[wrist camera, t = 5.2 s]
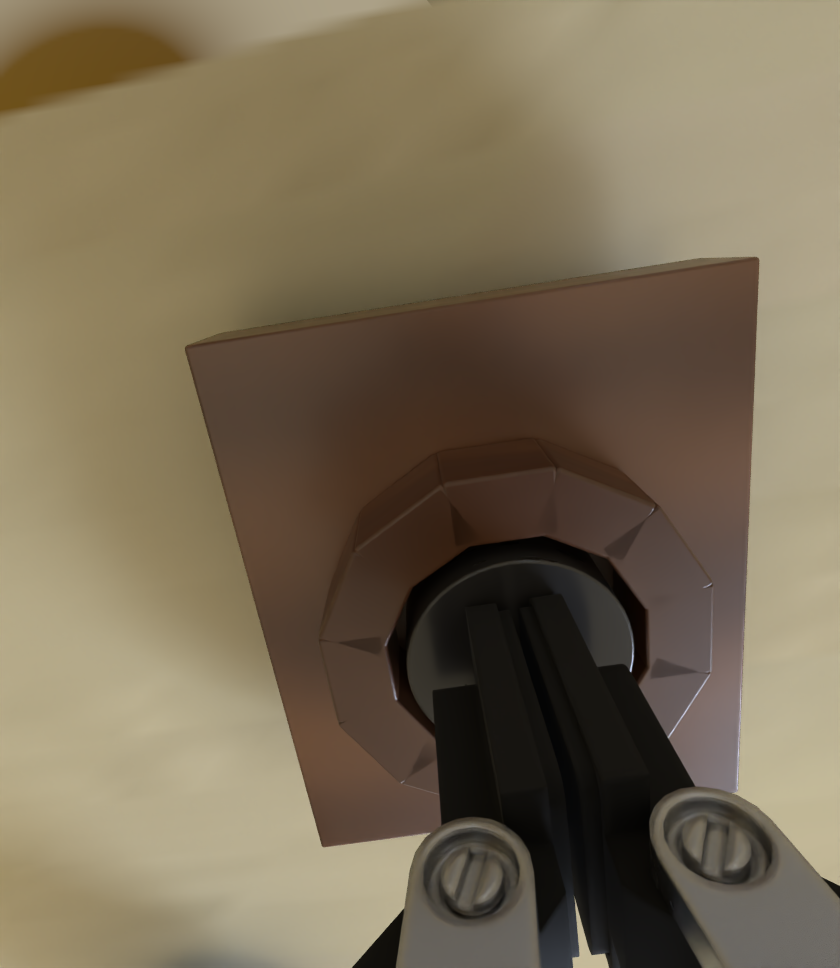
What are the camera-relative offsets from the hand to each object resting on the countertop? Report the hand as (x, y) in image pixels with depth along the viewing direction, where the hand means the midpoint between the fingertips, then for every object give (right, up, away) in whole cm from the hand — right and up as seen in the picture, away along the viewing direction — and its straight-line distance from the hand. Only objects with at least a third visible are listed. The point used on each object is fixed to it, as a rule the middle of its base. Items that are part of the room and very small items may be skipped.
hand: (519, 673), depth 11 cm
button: (0, +1, +2) cm, 2 cm away
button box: (0, +2, +4) cm, 4 cm away
